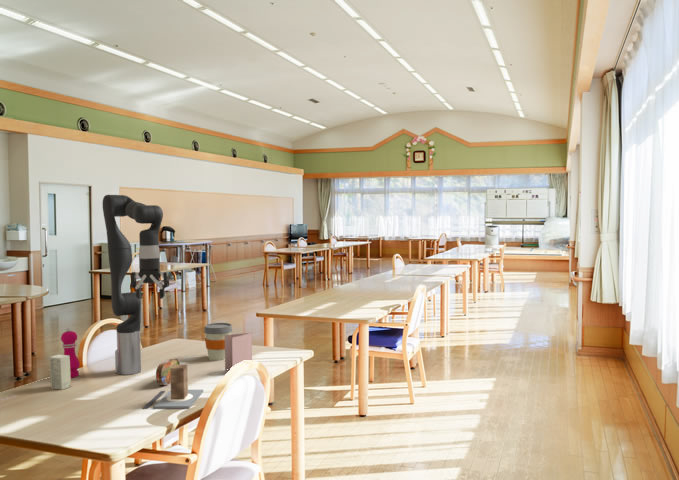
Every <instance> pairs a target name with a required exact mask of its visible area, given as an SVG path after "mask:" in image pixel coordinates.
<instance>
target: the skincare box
mask: <svg viewBox="0 0 679 480" xmlns="http://www.w3.org/2000/svg"><path fill="white" fill-rule="evenodd" d="M49 371H50V373H49V374H50V389H55V390H64V389H65V390H66V389H68V388H70V387H72V378H71V374H70V356H69V355H64V354H59V353H58V354H56V355H52V356H49Z"/></svg>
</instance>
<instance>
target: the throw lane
mask: <svg viewBox="0 0 679 480" xmlns="http://www.w3.org/2000/svg"><path fill="white" fill-rule="evenodd" d="M165 392H166V391H165V390H160V391H159V392H158V393H157V394H156V395H155V396H154V397H152V399H151V400H149V401H148V402H147V403H146V404H145V405H144V406H143V407H142V410H143V409H144V410H145V409H149V407H151V406H152V405H153V404H155V402H156V401H157V400H158V399H159V398H160V397H161V396H163V394H165ZM203 393H204V389H188V396H187V397H186V398H185V399H171V389H170V390H169V391H168V392H167V393H166V394H165V395H164V396H163V397H162V398H160V400H158V401H157V402H156V404H155V405H154V406H153V409H160V410H161V409H162V410H163V409H164V410H165V409H166V410H167V409H168V410H169V409H172V410H173V409H176V410H177V409H182V410H184V409H185V410H186V409H189V410H190V408H192V406H193V404H195V402H196V401H197V400H198V399H199V398H200V396H201V395H202V394H203Z"/></svg>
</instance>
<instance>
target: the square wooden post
mask: <svg viewBox="0 0 679 480" xmlns="http://www.w3.org/2000/svg"><path fill="white" fill-rule="evenodd" d="M170 372H171V383H170V390H171V399H185V398H186V397H187V396H188V390H189V386H188V381H189V380H188V364H180V365H174V366H173V367H171V368H170Z"/></svg>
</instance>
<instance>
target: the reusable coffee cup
mask: <svg viewBox="0 0 679 480" xmlns="http://www.w3.org/2000/svg"><path fill="white" fill-rule="evenodd" d="M203 332H204V334H205V335H204V336H205V337H204V341H205V348H206V349H207V355H208V360H210V361H222V360H221V359H225V335H231V334H232V332H233V326H232V323H227V322H214V323H213V322H212V323H208V324H205V325H204V331H203Z"/></svg>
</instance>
